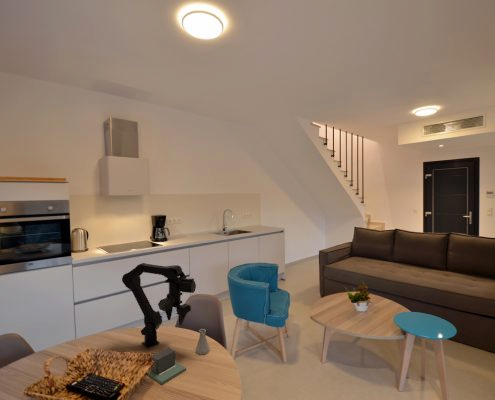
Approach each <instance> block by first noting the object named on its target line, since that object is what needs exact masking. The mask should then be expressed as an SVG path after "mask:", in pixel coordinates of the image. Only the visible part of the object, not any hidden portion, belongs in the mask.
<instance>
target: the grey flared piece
mask: <svg viewBox="0 0 495 400" xmlns="http://www.w3.org/2000/svg"><path fill="white" fill-rule="evenodd" d="M198 331H199V338H198V341H197V345H196V347H195V352H194V353H195V354H197V355H207V354H208V353H209V352H210V351H211V350H210V349H211V347H210V345H209V342H208V339H207V337H206V335H207V334H206V331H207V330H206V329H205V328H200V329H199V330H198Z"/></svg>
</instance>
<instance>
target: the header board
mask: <svg viewBox="0 0 495 400" xmlns="http://www.w3.org/2000/svg"><path fill="white" fill-rule="evenodd" d="M186 371H187V368H186V366H184V365H182V364H180V363H179V362H178V361H175V365H173V366H171V367H169V368H168V369H166V370H164V371H162V372H161V373H159V374H156V373H154V372H153V371H150V372H149V373H148V375H147V376H149V377H150V378H152V379H153V380H154V381H156V382H157V383H159V384H160V385H164V384H166V383H167V382H169V381H171V380H172V379H174V378H176V377H177V376H179V375H180V374H182V373H184V372H186Z"/></svg>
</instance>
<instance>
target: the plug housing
mask: <svg viewBox="0 0 495 400" xmlns="http://www.w3.org/2000/svg"><path fill="white" fill-rule="evenodd" d="M151 359H152V360H153V361H154V365H153V367H152V369H151V371H153V372H154V373H156V374H159V373H161V372H162V371H164V370H166V369H168V368H169V367H171V366H173V365H175V362H176V350H174V349H173V348H171V347H167V348H165V349H163V350H161V351H158V352H157V353H154V354H152V355H151V356H150V360H151Z"/></svg>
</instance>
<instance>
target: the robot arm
mask: <svg viewBox="0 0 495 400" xmlns="http://www.w3.org/2000/svg"><path fill="white" fill-rule="evenodd" d="M144 273H146V274H147V273H148V274H154V275H160V276H163V277H165V278H166V280H165V281H164V283H166V284H168V293H167V294H166V297H165V298H162V299H160V300H159V301H158V303H157V305H158V309H159V310H160V311H162V312H165V315H166V318H167V320H168V321H170V320H171V318H172V314H173V313H172V312H173V308H175V309H176V313H175V314H176V315H177V317H178V325H179V326H182V324H183V323H184V321H185V318H186V316H187V314H188V313H189V312H191V311H192V306H191V304H187V303H184V304H183V300H181V298H182V297H181V296H183V293H185V294H186V293H187V294H188V293H190V294H195V291H196V288H197V284H196V281H195V278H187V276H186V274H185V273H184V271H183V267H181V266H180V265H179V264H177V265H173V264H172V265H167V266H165V265H157V264H151V263H146V262H141V263H139V264H137V265H136V266H135V267H134V268H132V269H131V270H130V271H129V272H126V273H124V274H123V275H122V278H121V282H122V283H123V285H124V286H125V287H126V288H127V289H129V290H130V291H131V292H132V294H133V296H134V299H135V300H136V302H137V304H138V307H139V308H140V310H141V312H142V315H143V324H144V327H143V328H142V329H141V330H140V333H141V336H143V337H144V339H143V340H144V341H142V342H141V345H143V346H144V347H146V348H151V347H154V346H155V345H157V344H160V341H159V340H158V336H157V334H158V333H157V332H158V331H157V330H158V329H159V328H160V327H161V325H162V323H163V316H162V315H161V312H160V311H159V310H157V311H155V310H154V309H153V307H152V305H151V303H150V300H149V299H148V297H147V295H146V293H145V291H144V289H143V287H142V283H141V280H142V279H141V275H143V274H144Z"/></svg>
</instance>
